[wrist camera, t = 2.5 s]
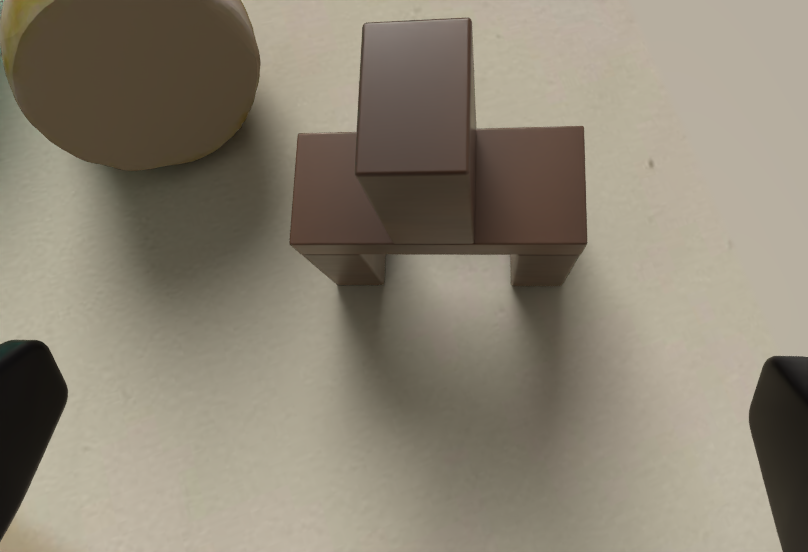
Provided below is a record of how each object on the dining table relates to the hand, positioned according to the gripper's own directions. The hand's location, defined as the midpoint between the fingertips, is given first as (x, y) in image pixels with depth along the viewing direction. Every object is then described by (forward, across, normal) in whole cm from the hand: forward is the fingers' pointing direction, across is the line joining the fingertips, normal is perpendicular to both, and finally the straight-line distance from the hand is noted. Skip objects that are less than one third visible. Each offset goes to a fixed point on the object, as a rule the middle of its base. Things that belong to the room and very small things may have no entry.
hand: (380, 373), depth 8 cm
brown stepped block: (+12, 0, +5) cm, 13 cm away
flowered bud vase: (+17, +11, 0) cm, 20 cm away
